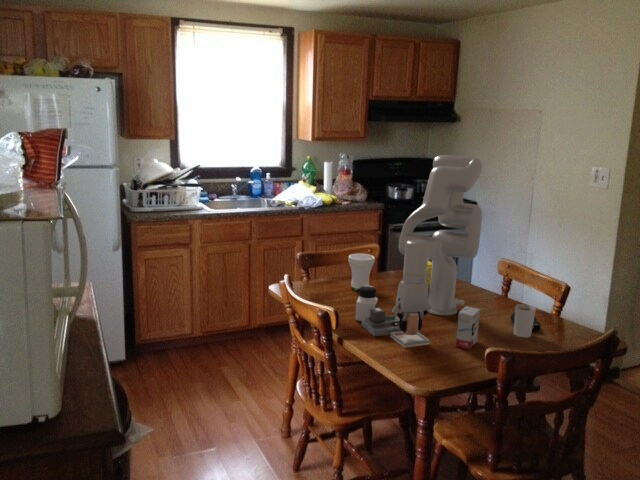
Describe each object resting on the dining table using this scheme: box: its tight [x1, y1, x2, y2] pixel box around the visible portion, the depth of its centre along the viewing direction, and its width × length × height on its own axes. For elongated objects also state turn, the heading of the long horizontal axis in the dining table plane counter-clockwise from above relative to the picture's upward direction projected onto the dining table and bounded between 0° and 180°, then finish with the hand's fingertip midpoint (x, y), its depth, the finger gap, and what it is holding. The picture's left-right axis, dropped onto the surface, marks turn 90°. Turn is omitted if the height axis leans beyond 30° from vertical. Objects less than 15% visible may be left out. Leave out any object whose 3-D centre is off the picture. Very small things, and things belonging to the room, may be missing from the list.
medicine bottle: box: [355, 285, 379, 322], centre depth 212 cm, size 7×7×12 cm
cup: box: [348, 253, 376, 292], centre depth 246 cm, size 11×11×14 cm
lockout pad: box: [389, 331, 431, 348], centre depth 194 cm, size 10×10×1 cm
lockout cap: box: [403, 312, 419, 335], centre depth 192 cm, size 5×5×7 cm
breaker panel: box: [361, 314, 401, 337], centre depth 203 cm, size 14×10×4 cm
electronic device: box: [510, 312, 541, 332], centre depth 213 cm, size 9×6×15 cm
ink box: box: [455, 305, 481, 350], centre depth 192 cm, size 9×5×12 cm, turn 148°
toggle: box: [370, 307, 386, 323], centre depth 201 cm, size 4×4×5 cm
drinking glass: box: [513, 303, 537, 338], centre depth 202 cm, size 7×7×10 cm
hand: (410, 329), depth 193 cm, fingers closed on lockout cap, 5 cm apart
